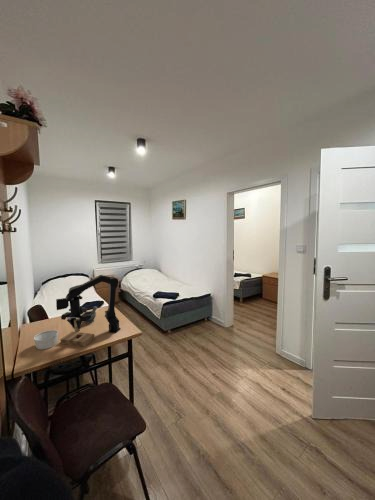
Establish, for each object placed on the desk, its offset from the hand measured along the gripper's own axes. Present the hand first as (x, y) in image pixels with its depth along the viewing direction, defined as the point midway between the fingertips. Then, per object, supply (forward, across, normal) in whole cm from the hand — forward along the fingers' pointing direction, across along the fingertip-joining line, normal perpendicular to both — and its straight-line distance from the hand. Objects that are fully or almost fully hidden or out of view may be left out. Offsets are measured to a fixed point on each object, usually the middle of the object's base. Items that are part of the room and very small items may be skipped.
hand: (77, 328), depth 138 cm
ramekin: (+9, +17, +8) cm, 20 cm away
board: (+8, 0, 0) cm, 8 cm away
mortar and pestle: (+9, +11, -26) cm, 29 cm away
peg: (+2, 0, 0) cm, 2 cm away
